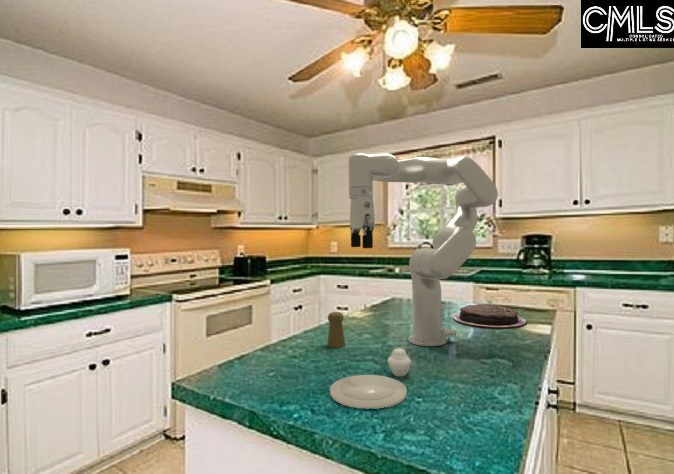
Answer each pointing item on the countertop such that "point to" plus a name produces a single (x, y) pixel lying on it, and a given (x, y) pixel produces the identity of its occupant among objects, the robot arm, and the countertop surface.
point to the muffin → (399, 362)
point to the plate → (368, 391)
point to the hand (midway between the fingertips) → (361, 247)
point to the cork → (335, 330)
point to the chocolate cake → (489, 317)
